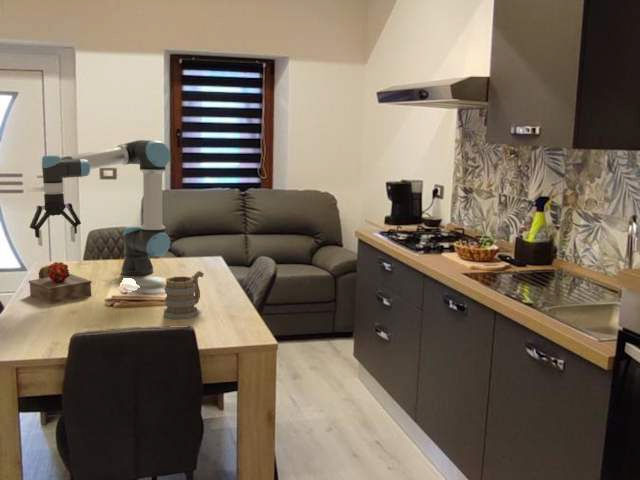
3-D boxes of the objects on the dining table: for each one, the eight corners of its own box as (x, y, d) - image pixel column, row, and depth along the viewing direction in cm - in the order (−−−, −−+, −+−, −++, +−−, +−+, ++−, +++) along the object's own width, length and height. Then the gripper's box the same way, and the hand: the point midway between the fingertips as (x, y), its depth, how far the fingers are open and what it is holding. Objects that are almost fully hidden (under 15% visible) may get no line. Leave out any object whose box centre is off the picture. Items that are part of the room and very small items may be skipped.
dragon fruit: (61, 280, 283) (60, 291, 272) (43, 270, 279) (41, 281, 269) (73, 265, 283) (72, 275, 272) (55, 255, 279) (53, 265, 268)
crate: (71, 289, 291) (70, 273, 289) (92, 297, 278) (91, 281, 277) (29, 296, 277) (28, 280, 276) (49, 305, 265) (48, 288, 264)
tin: (44, 286, 292) (43, 268, 291) (37, 286, 293) (36, 268, 291) (63, 279, 307) (62, 261, 305) (57, 278, 307) (56, 261, 306)
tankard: (181, 321, 245) (180, 282, 242) (157, 315, 252) (155, 277, 249) (216, 308, 262) (216, 272, 259) (193, 303, 268) (192, 268, 266)
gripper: (80, 190, 281) (82, 238, 285) (19, 194, 265) (23, 245, 269) (87, 191, 275) (89, 241, 279) (25, 195, 259) (29, 248, 263)
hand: (57, 243), depth 274 cm, fingers open, 13 cm apart
